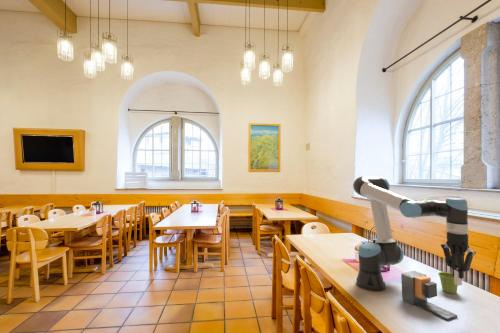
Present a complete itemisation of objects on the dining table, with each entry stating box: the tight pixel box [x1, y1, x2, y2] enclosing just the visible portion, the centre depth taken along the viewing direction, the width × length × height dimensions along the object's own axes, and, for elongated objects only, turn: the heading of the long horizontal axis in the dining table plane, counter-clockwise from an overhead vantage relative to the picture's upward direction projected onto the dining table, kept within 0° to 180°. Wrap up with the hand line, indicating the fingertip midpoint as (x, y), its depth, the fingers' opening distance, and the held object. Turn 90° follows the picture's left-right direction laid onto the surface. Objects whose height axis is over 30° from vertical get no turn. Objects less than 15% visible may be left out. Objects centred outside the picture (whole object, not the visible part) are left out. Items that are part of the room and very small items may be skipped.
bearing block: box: [400, 270, 458, 322], centre depth 118 cm, size 20×10×14 cm, turn 21°
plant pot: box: [437, 271, 458, 295], centre depth 134 cm, size 9×9×9 cm
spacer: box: [415, 275, 432, 299], centre depth 120 cm, size 3×7×9 cm, turn 111°
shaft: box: [423, 281, 438, 299], centre depth 123 cm, size 15×6×6 cm, turn 21°
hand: (458, 284), depth 110 cm, fingers closed
